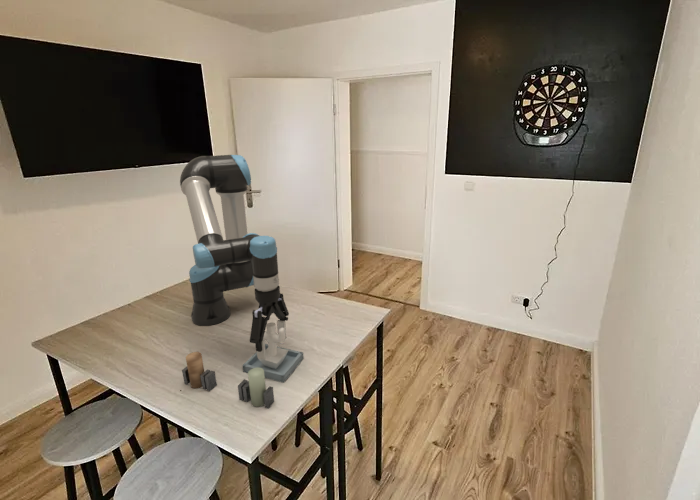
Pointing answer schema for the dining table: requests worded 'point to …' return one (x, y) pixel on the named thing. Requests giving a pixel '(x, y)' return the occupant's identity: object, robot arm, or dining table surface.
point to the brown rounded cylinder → (195, 369)
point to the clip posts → (243, 388)
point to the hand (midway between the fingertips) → (272, 347)
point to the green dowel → (257, 386)
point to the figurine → (274, 346)
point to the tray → (282, 370)
